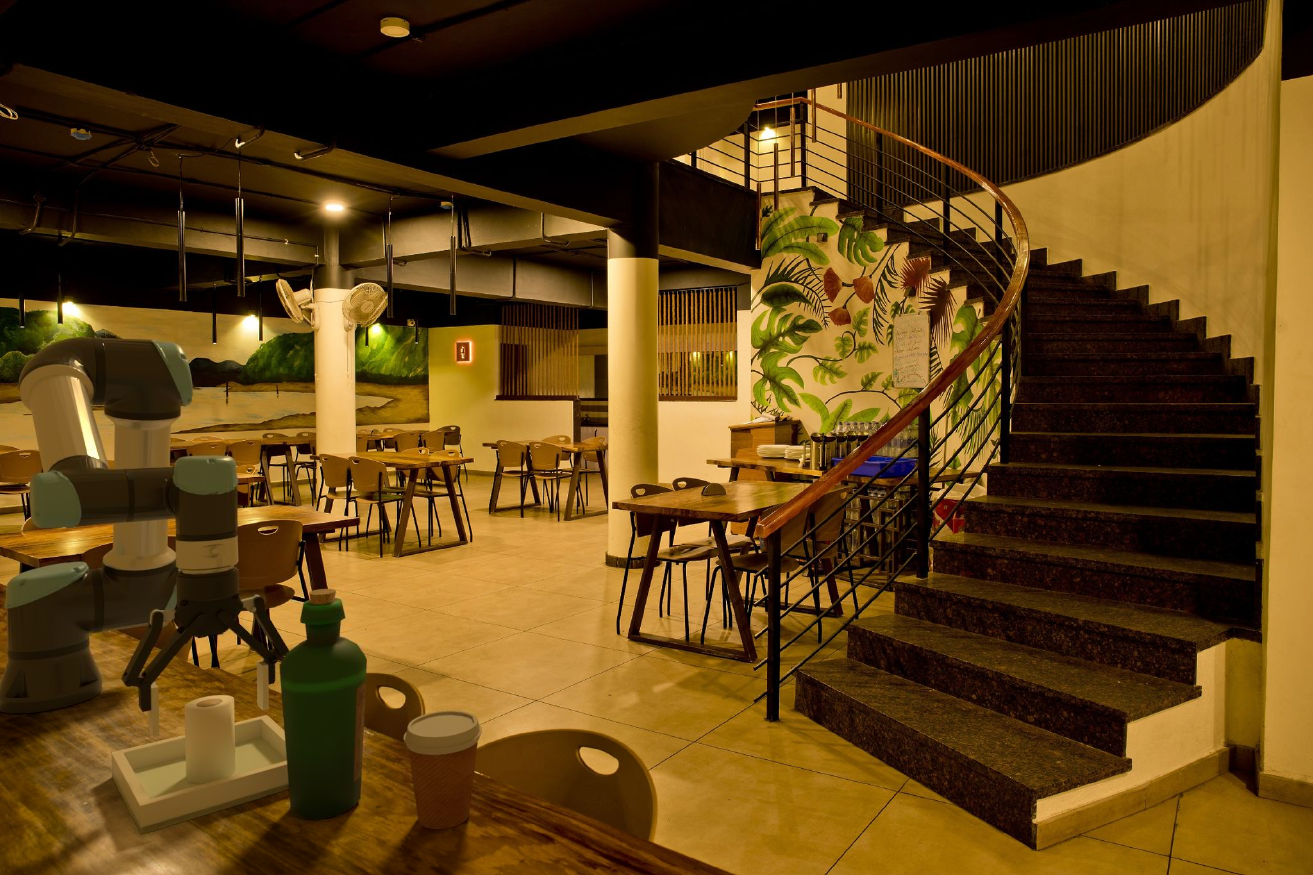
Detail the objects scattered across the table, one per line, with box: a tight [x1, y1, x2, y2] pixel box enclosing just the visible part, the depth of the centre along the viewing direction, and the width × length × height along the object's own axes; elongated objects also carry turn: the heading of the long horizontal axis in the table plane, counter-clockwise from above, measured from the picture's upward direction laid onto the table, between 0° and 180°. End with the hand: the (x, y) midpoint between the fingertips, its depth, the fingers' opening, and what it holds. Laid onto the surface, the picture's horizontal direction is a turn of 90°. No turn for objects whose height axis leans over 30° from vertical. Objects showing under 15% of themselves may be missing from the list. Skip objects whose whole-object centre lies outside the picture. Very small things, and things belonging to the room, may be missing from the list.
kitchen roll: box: [183, 694, 236, 784], centre depth 111 cm, size 6×6×10 cm
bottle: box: [279, 588, 368, 820], centre depth 104 cm, size 11×11×28 cm
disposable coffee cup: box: [403, 710, 483, 830], centre depth 101 cm, size 10×10×12 cm
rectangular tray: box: [111, 714, 289, 835], centre depth 112 cm, size 20×20×4 cm
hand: (210, 719), depth 112 cm, fingers open, 13 cm apart
